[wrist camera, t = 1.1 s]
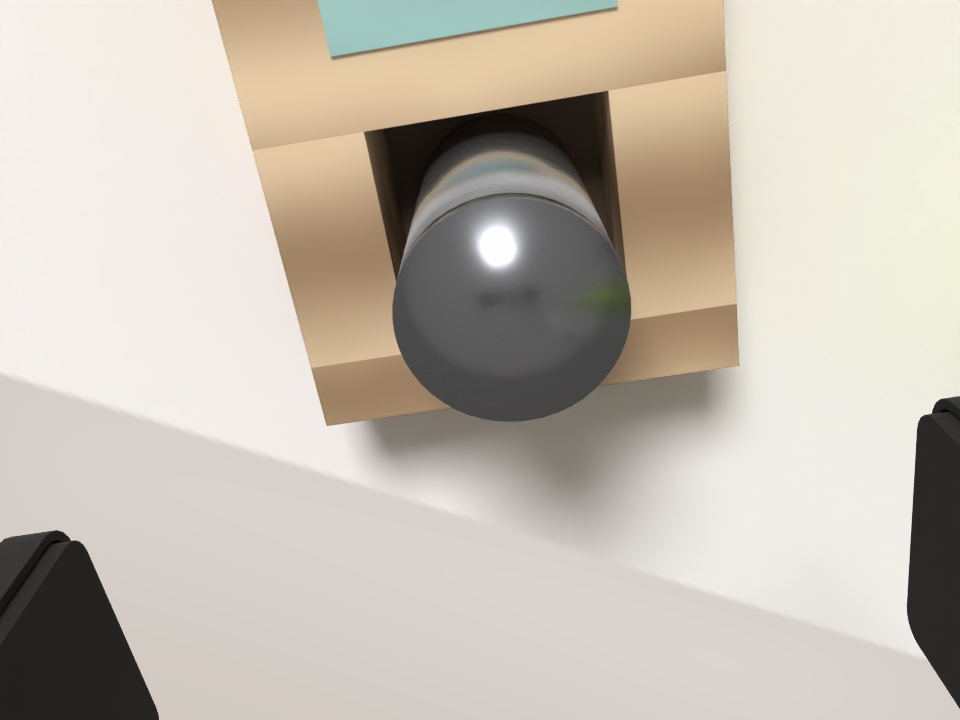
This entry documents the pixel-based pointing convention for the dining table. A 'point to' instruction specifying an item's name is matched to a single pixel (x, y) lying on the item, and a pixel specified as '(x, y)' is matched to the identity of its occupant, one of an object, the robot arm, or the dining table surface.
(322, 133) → the housing
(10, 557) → the robot arm
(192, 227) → the dining table surface
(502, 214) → the grey cylinder
